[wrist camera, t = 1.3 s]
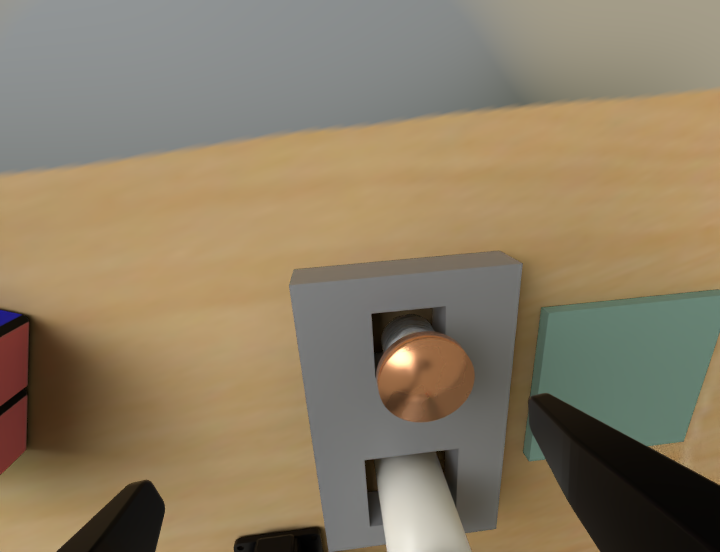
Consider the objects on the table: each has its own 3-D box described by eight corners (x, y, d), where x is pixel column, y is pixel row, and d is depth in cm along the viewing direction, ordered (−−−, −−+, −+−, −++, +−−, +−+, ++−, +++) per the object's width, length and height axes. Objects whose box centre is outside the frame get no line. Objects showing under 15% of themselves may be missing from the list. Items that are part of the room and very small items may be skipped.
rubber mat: (673, 433, 26) (683, 441, 25) (523, 452, 26) (529, 461, 25) (718, 289, 22) (732, 294, 21) (541, 307, 21) (549, 313, 21)
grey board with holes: (481, 495, 27) (496, 528, 24) (328, 516, 26) (328, 552, 24) (499, 250, 20) (522, 263, 18) (293, 269, 19) (289, 285, 17)
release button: (445, 367, 20) (472, 416, 16) (370, 375, 20) (380, 427, 16) (446, 298, 18) (476, 335, 15) (366, 306, 18) (376, 346, 14)
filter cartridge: (437, 477, 26) (491, 635, 17) (372, 486, 25) (394, 651, 17) (438, 425, 24) (498, 572, 16) (368, 434, 24) (390, 588, 15)
